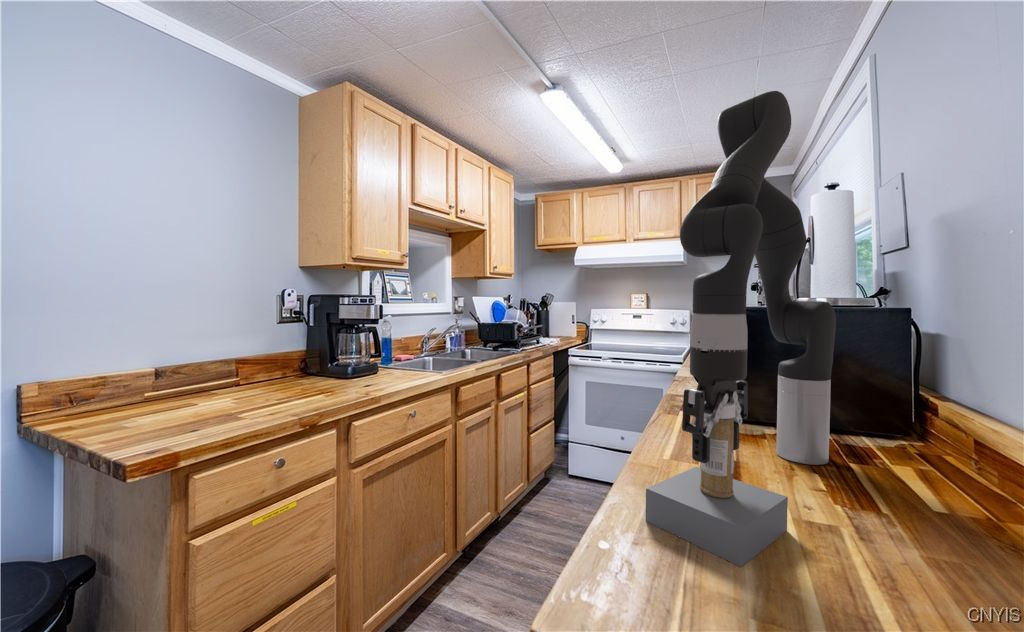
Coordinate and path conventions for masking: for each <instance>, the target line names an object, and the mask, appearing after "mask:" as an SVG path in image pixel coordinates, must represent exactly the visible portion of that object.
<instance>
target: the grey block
mask: <svg viewBox="0 0 1024 632" xmlns="http://www.w3.org/2000/svg"><path fill="white" fill-rule="evenodd" d="M700 484H701V467H698V466H694V467H692V468H689V469H687V470H686V471H682V472H681V473H678V474H676V475H674V476H672V477H669V478H667V479H664V480H662V481H660V482H658V483H655V484H653V485H651V486H648V487H646V488H645V522H647V523H649V524H651V525H653V526H655V527H657V528H660V529H661V530H663V531H665V530H666V532H667V531H668V532H667V533H670V534H672V533H673V534H672V535H674V534H675V535H674V536H676V535H677V536H676V537H678V536H680V537H681V538H680V537H679V538H680V539H682V538H683V539H682V540H684V539H685V540H684V541H686V542H688V541H689V542H688V543H690V542H691V544H693V545H694V546H697V548H698V547H699V548H701V549H702V550H705V551H707V552H709V553H711V554H713V555H715V556H717V557H719V558H721V559H724V560H725V561H727V560H728V562H729V561H730V562H729V563H731V562H733V563H734V565H735V566H737V567H739V568H742V567H744V565H746V564H747V563H749V561H751V560H752V559H754V557H756V556H757V555H758V554H760V553H761V552H762V551H764V549H766V548H767V547H768V546H770V545H771V544H772V543H774V542H775V541H776V540H777V539H778V538H780V537H781V536H783V535H784V534H785V533H786V532H787V531H788V507H789V506H788V505H789V502H788V501H789V498H788V496H786V495H783V494H780V493H778V492H774V491H771V490H769V489H765V488H762V487H758V486H756V485H752V484H750V483H747V482H743V481H740V480H737V479H735V478H733V495H732V496H731V497H728V498H717V497H712V496H709V495H707V494H705V493H704V492H702V490H701V489H700ZM733 563H732V564H733Z"/></svg>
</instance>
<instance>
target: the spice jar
mask: <svg viewBox="0 0 1024 632" xmlns="http://www.w3.org/2000/svg"><path fill="white" fill-rule="evenodd" d="M704 413H705V412H704ZM706 414H707V413H706ZM734 417H735V404H733V403H730V402H728V403H727V404H726V406H724V407H723V410H722V412H721V415H720V418H719V421H718V423H716V424H714V425H713V427H712V429H711V432H710V435H709V437H710V461H709V462H707V463H701V462H700V468H701V484H700V489H701V490H702V492H704V493H705V494H707V495H709V496H712V497H717V498H728V497H731V496H732V495H733V479H734V468H735V467H734V465H735V463H734V459H735V458H734V457H735V456H734V450H733V439H734ZM705 423H706V421H704V425H703V427H704V426H705Z"/></svg>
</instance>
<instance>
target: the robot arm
mask: <svg viewBox="0 0 1024 632" xmlns="http://www.w3.org/2000/svg"><path fill="white" fill-rule="evenodd" d="M791 128H792V113H791V109H790V104H789V101H788V99H787V97H786V96H785V95H784V94H783V93H782V92H780V91H779V90H772V91H771V90H770V91H766V92H763V93H761V94H759V95H756V96H754V97H752V98H749V99H746V100H744V101H742V102H739V103H737V104H734V105H732V106H729V107H728V108H726V109H724V110H722V111H721V112H720V113H719V115H718V117H717V133H718V137H719V141H720V145H721V148H722V151H723V154H724V157H725V160H724V161H723V162H722V163H721V165H720V166H719V168H718V169H717V170H716V172H715V175H714V177H713V180H712V182H711V184H710V187H709V190H708V191H707V192H705V193H704V194H703V195H702V197H701V198H700V199H698V201H697V202H695V204H694V205H692V207H691V208H690V209H689V210H688V212H687V213H686V214H685V216H684V218H683V221H682V223H681V226H680V229H679V230H680V231H679V241H680V245H681V247H682V248H683V250H684V251H685V252H686V254H688V255H690V256H692V257H694V258H709V257H711V258H712V257H723V256H724V257H725V256H729V258H728V261H727V262H726V263H725V265H724V266H723V267H722V268H720V269H716V270H714V271H713V270H712V271H710V272H709V271H708V272H706V273H701V274H699V275H698V276H696V277H695V278H694V280H693V284H692V315H691V323H690V332H689V336H690V339H689V340H690V341H689V374H690V375H691V377H694V378H696V379H697V381H698V383H697V387H696V389H692V388H684V390H683V400H682V422H681V429H682V431H683V432H686V433H689V434H691V436H692V440H691V441H692V442H691V446H692V447H691V449H692V450H691V457H692V459H693V460H694V461H695V462H698V463H700V464H701V463H707V462H709V461H710V437H709V435H710V432H711V429H712V427H713V425H714V424H716V423H718V421H719V418H720V415H721V412H722V410H723V407H724V406H726V404H727V403H728V402H730V403H733V404H735V417H734V439H733V451H736V450H738V449H739V448H740V426H741V425H742V424H743V420H747V419H748V417H749V416H748V415H749V413H748V412H749V411H748V410H749V408H748V407H749V405H748V403H749V402H748V400H749V398H748V396H749V395H748V394H749V393H748V391H749V389H748V388H749V387H748V381H746V380H745V379H746V378H747V376H748V341H749V339H748V337H749V336H748V335H749V334H748V333H749V331H748V324H747V323H748V322H747V290H748V288H747V287H748V281H749V275H750V271H751V267H752V263H753V261H754V257H755V261H756V264H757V267H758V271H759V275H760V279H761V282H762V289H763V292H764V298H765V304H766V305H765V307H766V311H767V318H768V323H769V328H770V330H771V333H772V335H773V338H775V340H776V341H777V342H779V343H783V344H789V345H790V344H791V345H800V346H804V345H805V346H807V347H806V351H805V353H804V354H803V355H801V356H798V357H796V358H793V359H792V358H791V359H787V360H781V361H780V362H779V363H778V367H777V407H776V408H777V409H776V451H775V453H776V455H777V456H779V457H781V458H783V459H784V460H787V461H790V462H795V463H798V464H803V465H804V464H805V465H810V466H811V465H814V466H819V465H821V466H822V465H826V464H828V463H829V459H830V458H829V455H830V454H829V453H830V427H831V426H830V424H831V423H830V421H831V419H830V418H831V383H832V382H831V381H832V380H831V378H832V369H833V363H834V352H835V351H834V349H835V348H834V347H835V340H836V339H835V337H836V329H837V328H836V327H837V316H836V312H835V309H834V307H833V304H831V303H830V302H827V301H821V300H819V301H818V300H817V301H816V300H813V301H811V300H808V301H807V300H804V301H803V300H802V301H801V300H800V301H799V300H797V301H796V300H795V301H794V300H792V298H791V294H790V280H791V278H792V275H793V273H794V271H795V269H796V267H797V265H798V263H799V262H800V260H801V258H802V256H803V253H804V251H805V249H806V245H807V234H806V230H805V225H804V221H803V218H802V214H801V210H800V208H799V207H798V205H797V204H796V203H795V202H794V201H793V200H792V199H791V198H790V197H788V195H786V194H785V193H783V192H782V191H781V190H779V189H778V188H777V187H775V186H774V185H772V184H771V183H770V182H769V181H768V180H767V179H766V178H765V176H766V173H767V171H768V170H769V168H770V166H771V165H772V163H773V161H774V160H775V158H776V157H777V156H778V154H779V152H780V151H781V149H782V147H783V145H784V144H785V143H786V141H787V139H788V137H789V135H790V132H791ZM704 412H705V413H704ZM706 413H707V414H706ZM691 416H692V419H691ZM704 421H706V423H705V426H704V427H703V425H704Z"/></svg>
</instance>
